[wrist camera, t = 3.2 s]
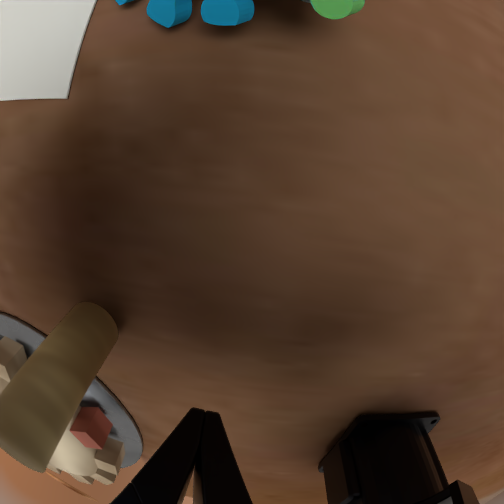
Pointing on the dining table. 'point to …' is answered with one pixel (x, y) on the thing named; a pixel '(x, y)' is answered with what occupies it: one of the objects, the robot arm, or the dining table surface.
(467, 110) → the dining table surface
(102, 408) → the wheel base
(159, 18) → the gear
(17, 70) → the mat
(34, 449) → the index wheel
